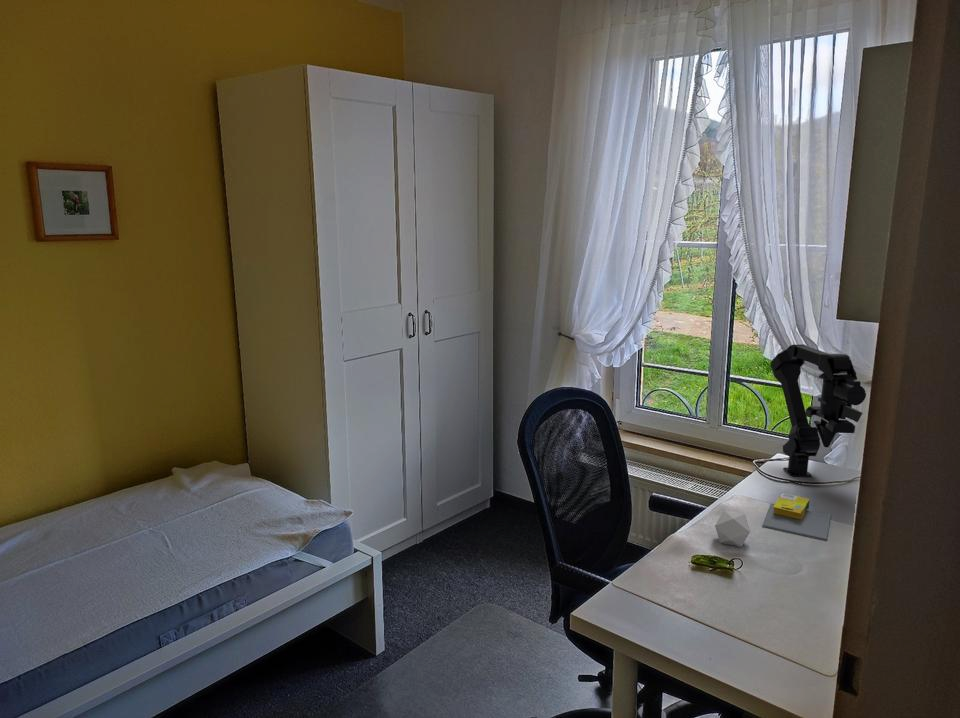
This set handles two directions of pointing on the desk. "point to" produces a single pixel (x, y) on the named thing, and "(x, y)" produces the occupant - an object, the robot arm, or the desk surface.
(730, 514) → the die
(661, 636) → the desk surface
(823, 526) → the desk pad
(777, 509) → the crayon box
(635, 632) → the desk surface
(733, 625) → the desk surface
